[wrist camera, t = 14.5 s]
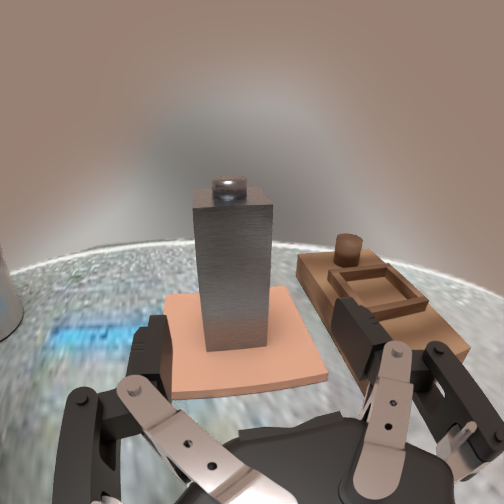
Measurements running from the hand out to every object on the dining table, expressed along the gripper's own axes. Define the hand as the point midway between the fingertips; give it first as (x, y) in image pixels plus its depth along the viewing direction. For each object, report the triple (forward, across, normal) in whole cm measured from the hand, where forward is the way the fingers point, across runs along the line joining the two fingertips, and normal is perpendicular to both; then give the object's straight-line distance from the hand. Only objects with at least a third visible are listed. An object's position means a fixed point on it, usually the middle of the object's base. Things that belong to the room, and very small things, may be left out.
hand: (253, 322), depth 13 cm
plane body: (+9, -14, +10) cm, 19 cm away
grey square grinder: (+9, 0, +8) cm, 13 cm away
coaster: (+9, 0, +10) cm, 13 cm away
